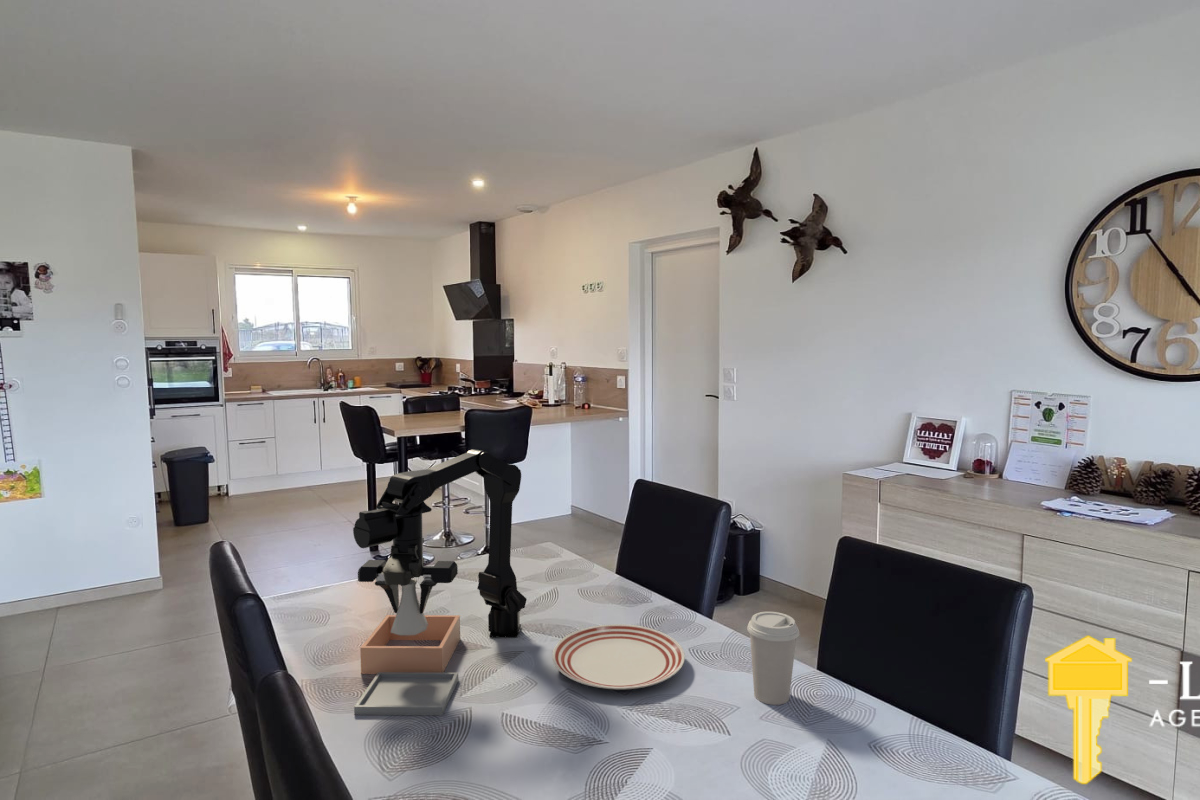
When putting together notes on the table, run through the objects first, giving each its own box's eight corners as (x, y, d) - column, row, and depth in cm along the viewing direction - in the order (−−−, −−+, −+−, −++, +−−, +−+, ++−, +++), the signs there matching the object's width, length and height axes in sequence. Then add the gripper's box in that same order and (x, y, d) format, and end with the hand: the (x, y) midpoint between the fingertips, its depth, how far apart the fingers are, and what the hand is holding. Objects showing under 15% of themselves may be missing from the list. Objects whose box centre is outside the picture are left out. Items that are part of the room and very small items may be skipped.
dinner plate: (689, 703, 129) (689, 686, 128) (544, 699, 130) (543, 682, 130) (680, 639, 156) (680, 625, 156) (560, 636, 157) (560, 622, 157)
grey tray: (458, 679, 137) (458, 672, 137) (442, 715, 124) (442, 707, 124) (378, 679, 137) (378, 672, 137) (354, 714, 124) (354, 706, 124)
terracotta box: (460, 638, 156) (459, 615, 155) (442, 674, 139) (442, 648, 139) (387, 638, 156) (386, 615, 156) (361, 673, 140) (360, 647, 139)
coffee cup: (769, 714, 124) (770, 634, 123) (735, 690, 133) (736, 615, 131) (808, 701, 129) (810, 624, 127) (773, 679, 137) (775, 606, 136)
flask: (417, 638, 135) (416, 589, 134) (383, 635, 136) (382, 586, 136) (434, 624, 142) (433, 576, 141) (402, 620, 143) (401, 574, 143)
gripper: (345, 548, 130) (347, 628, 131) (443, 549, 129) (444, 630, 130) (367, 532, 141) (369, 606, 142) (457, 533, 140) (458, 607, 142)
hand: (409, 612), depth 139 cm, fingers closed on flask, 5 cm apart
